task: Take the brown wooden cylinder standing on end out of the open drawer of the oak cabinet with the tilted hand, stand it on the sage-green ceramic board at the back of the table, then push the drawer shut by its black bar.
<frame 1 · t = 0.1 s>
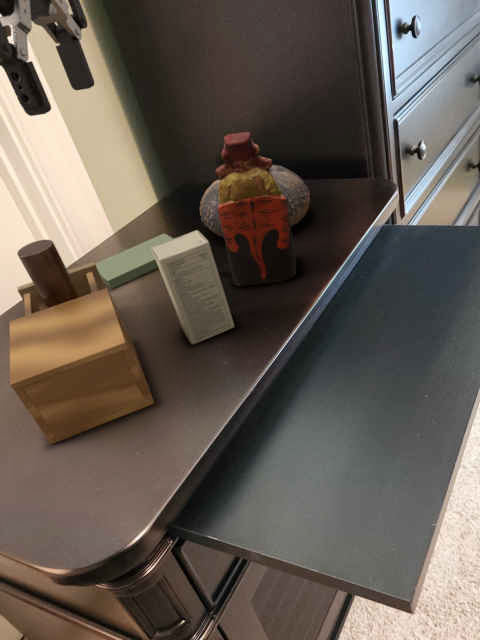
hand: (63, 100, 48), 28 cm above the table, tool pointing down, fingers open, 8 cm apart
brown wooden cylinder: (79, 331, 69), point 2 cm above the table, touching drawer
cosmetic box: (208, 331, 69), on the table
sea urchin shell: (260, 224, 91), on the table
board: (140, 263, 87), on the table
drawer: (70, 308, 70), point 4 cm above the table, slide at 10.0 cm, touching brown wooden cylinder
cabinet: (96, 389, 63), on the table
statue: (260, 274, 78), on the table
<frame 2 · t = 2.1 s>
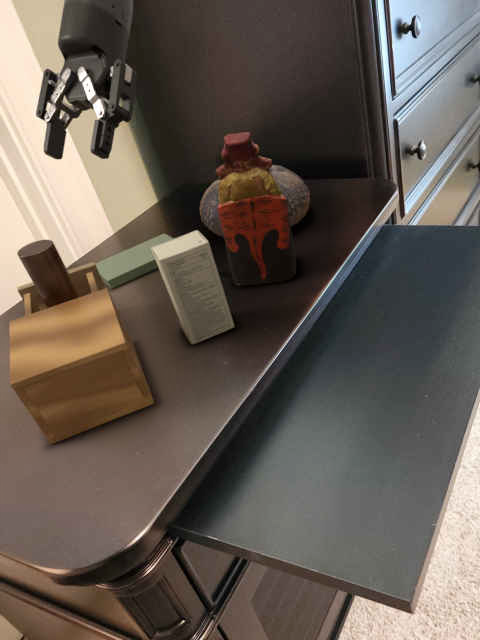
hand: (75, 156, 64), 21 cm above the table, tool tilted 45°, fingers open, 8 cm apart
nothing on the table moved.
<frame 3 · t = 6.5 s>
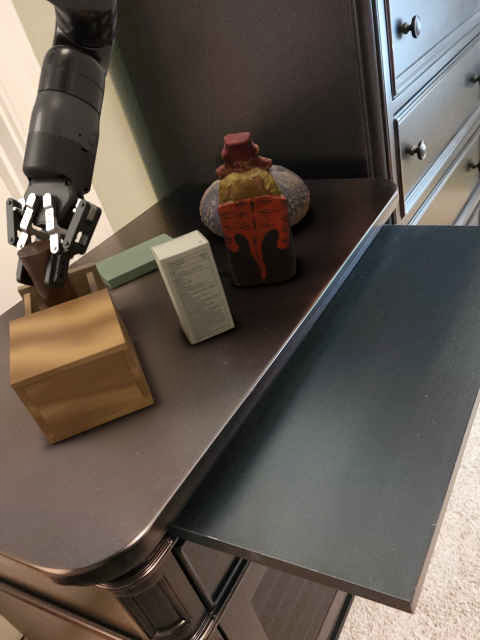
hand: (39, 285, 63), 10 cm above the table, tool tilted 45°, fingers closed on brown wooden cylinder, 4 cm apart
brown wooden cylinder: (79, 331, 69), point 2 cm above the table, touching drawer, gripper
everything else where it was.
when the fingers open (10 cm above the table, at t = 15.9 s): brown wooden cylinder stays where it is, resting on board.
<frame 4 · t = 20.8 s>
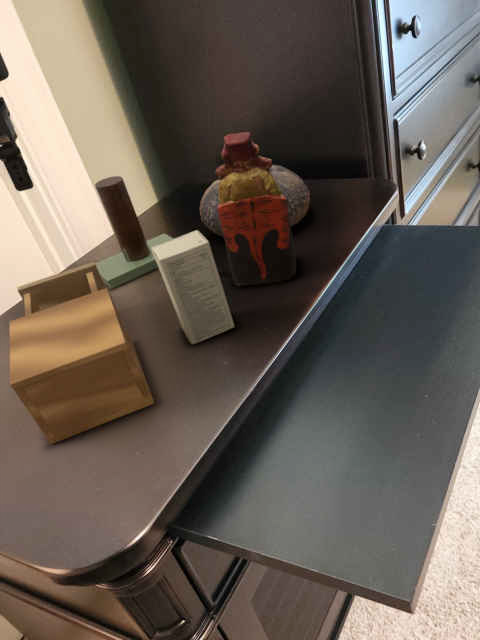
hand: (23, 180, 71), 18 cm above the table, tool pointing down, fingers open, 8 cm apart
brown wooden cylinder: (137, 255, 86), point 1 cm above the table, touching board
drawer: (70, 308, 70), point 4 cm above the table, slide at 10.0 cm
everything else where it was.
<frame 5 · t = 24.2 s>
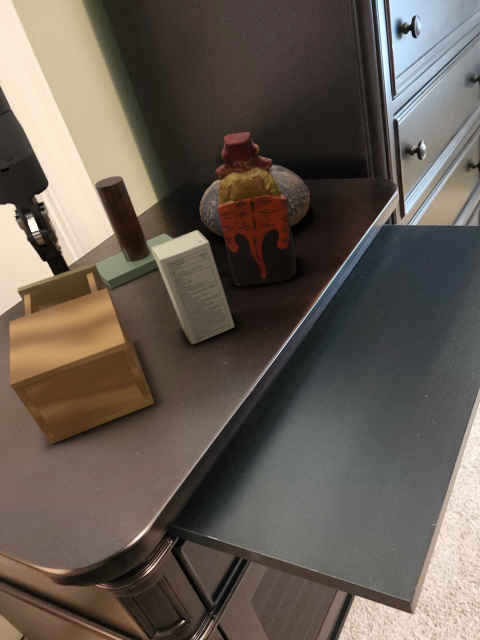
hand: (65, 279, 76), 4 cm above the table, tool pointing down, fingers closed
drawer: (70, 309, 69), point 4 cm above the table, slide at 9.7 cm, touching gripper
everything else where it was.
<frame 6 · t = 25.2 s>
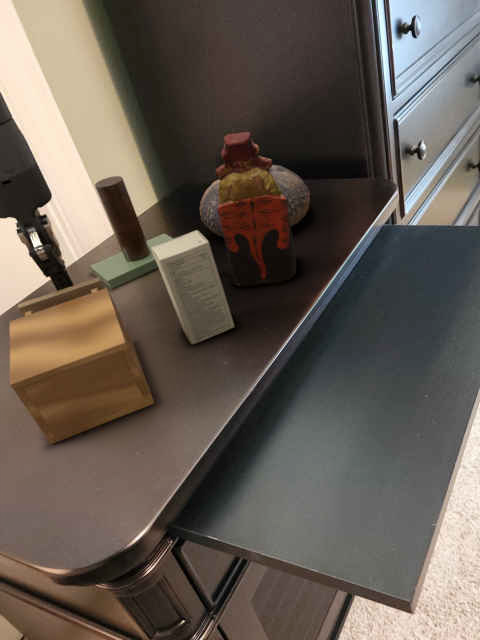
hand: (69, 295, 73), 4 cm above the table, tool pointing down, fingers closed
drawer: (73, 327, 66), point 4 cm above the table, slide at 4.7 cm, touching gripper
everything else where it was.
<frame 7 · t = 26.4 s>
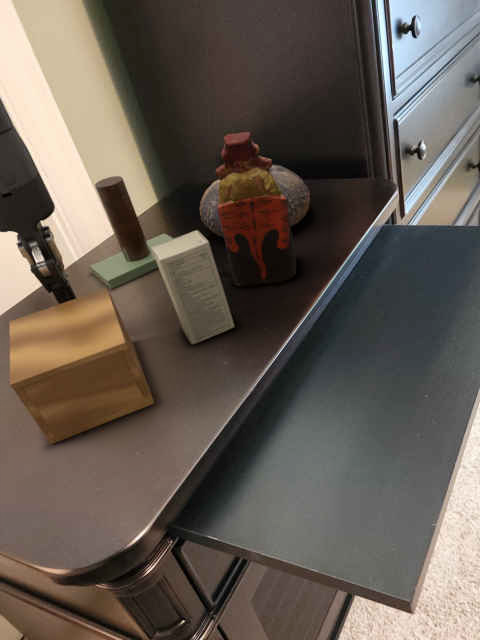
hand: (72, 309, 69), 4 cm above the table, tool pointing down, fingers closed
drawer: (77, 345, 62), point 4 cm above the table, slide at 0.0 cm, touching gripper
everything else where it was.
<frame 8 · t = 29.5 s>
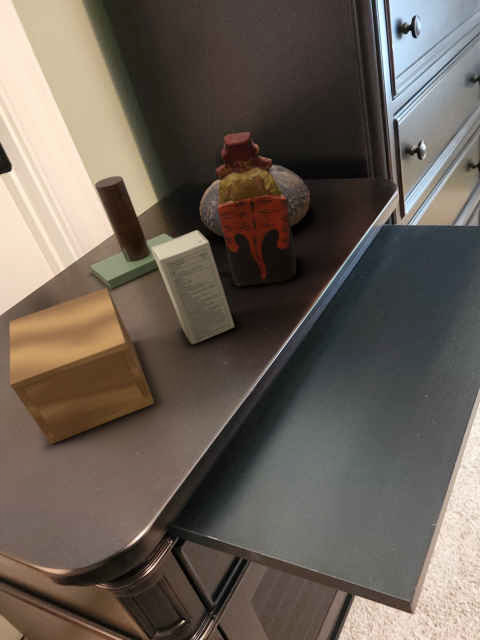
hand: (4, 171, 62), 21 cm above the table, tool pointing down, fingers closed
drawer: (77, 345, 62), point 4 cm above the table, slide at 0.0 cm
everything else where it was.
at the end: brown wooden cylinder inside the target area on the board (0.1 cm from its centre), point 1.5 cm above the board's base; brown wooden cylinder tilted 0°; drawer slide at 0.0 cm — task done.
